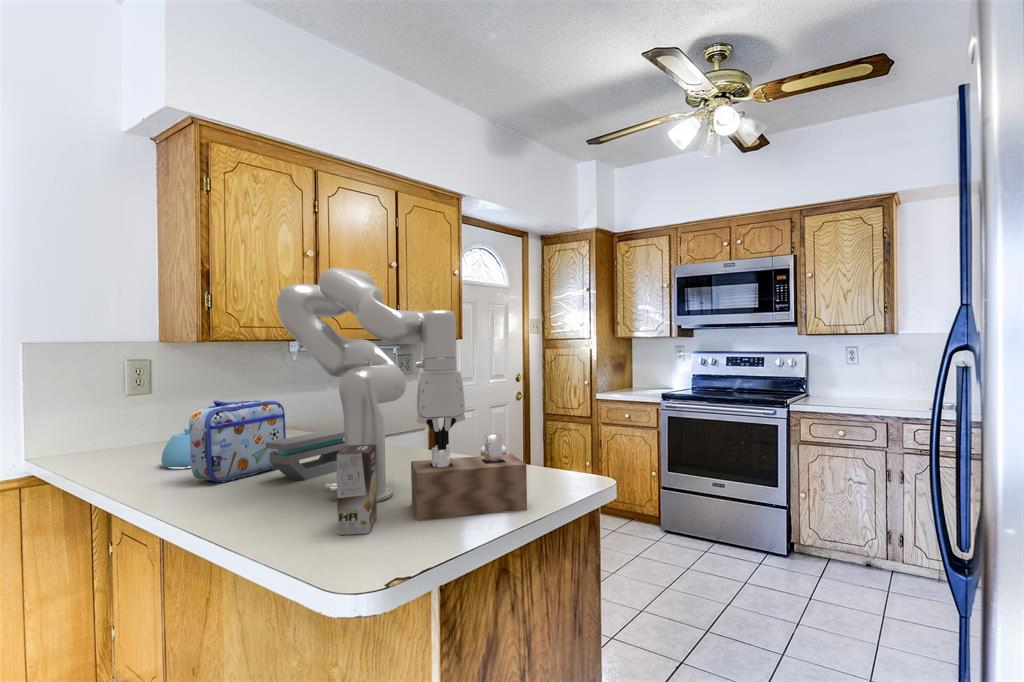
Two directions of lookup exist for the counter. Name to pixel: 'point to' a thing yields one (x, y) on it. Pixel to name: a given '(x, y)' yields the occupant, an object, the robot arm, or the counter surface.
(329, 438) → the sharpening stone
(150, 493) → the counter surface
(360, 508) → the coffee box
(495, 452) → the peg right
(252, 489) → the counter surface
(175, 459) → the sugar bowl
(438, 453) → the grey rounded cylinder
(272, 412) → the lunch box
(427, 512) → the walnut block
